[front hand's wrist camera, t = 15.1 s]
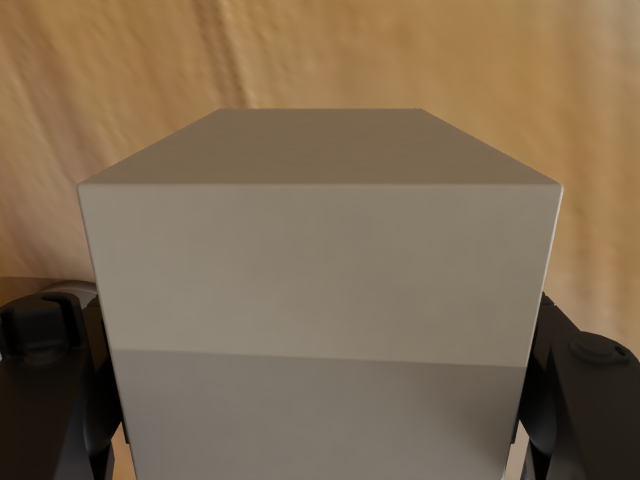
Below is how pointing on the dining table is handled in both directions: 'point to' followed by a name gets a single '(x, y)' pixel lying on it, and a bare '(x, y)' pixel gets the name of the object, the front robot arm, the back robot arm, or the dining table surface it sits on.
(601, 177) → the dining table surface
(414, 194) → the post
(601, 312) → the dining table surface
